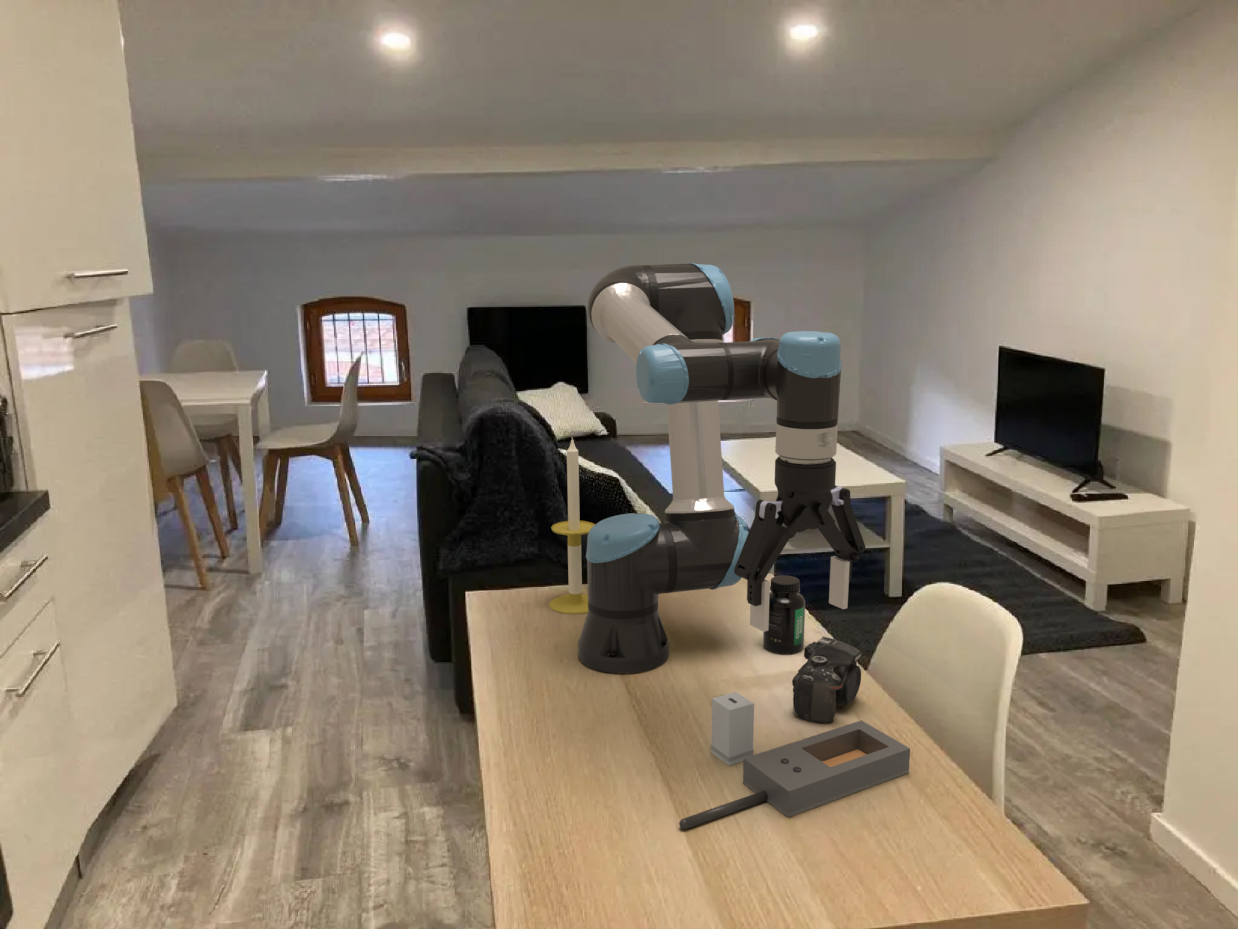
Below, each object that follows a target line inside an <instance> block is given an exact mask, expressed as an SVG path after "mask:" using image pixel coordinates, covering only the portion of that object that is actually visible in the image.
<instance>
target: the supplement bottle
mask: <svg viewBox="0 0 1238 929" xmlns="http://www.w3.org/2000/svg"><path fill="white" fill-rule="evenodd" d="M800 583H801V581H800V579H799V578H798V577H796V576H792V575H776V576H773V577H771V578H770V594H769V627H768V631H765V632H763V631H762V633H763V634H762V636H763V637H762V644H763V647H764V649H765V650H767V651H769V652H771V653H775V654H779V655H793V654H796V653H799V652H800V651H802V649H803V648H804V646H805V645H804V644H805V622H806V621H805V620H806V619H805V618H806V617H805V616H806V600H805V598H804V596H803V595H802V594H801V593H800V592H801V588H800V587H801V584H800Z"/></svg>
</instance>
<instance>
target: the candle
mask: <svg viewBox="0 0 1238 929" xmlns="http://www.w3.org/2000/svg"><path fill="white" fill-rule="evenodd" d="M579 460H580V459H579V449H577V447H576V445H575V440H574V438H573V437H571V440H570V443H569V447H568V449H567V450H566V472H567V473H566V479H567V520H565V521H560V522H557V523H554V524H552V526H551V527H550V528H551V531H552V532H553V533H555V534H557V535H561V536H562V535H563V536H567V564H568V565H567V566H568V567H567V568H568V569H567V572H568V574H567V575H568V594H564V595H559V596H557V597H555V598H553V599H551V600H550V602H549V608H550V609H551V610H552V611H554V612H556V613H560V614H563V615H564V614H565V615H582V614H588V593H587V594H585V593H583V576H582V575H583V574H582V573H583V571H582V536H584V535H588V533H589V531H590V529H591V528H592V527H593V526H594V525H595V524H596V523H593V522H590V521H586V520H580V518H581V517H580V513H581V512H580V477H579V476H580V473H579V472H580V469H579V468H580V466H579V463H580V462H579Z"/></svg>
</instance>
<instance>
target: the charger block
mask: <svg viewBox="0 0 1238 929" xmlns="http://www.w3.org/2000/svg"><path fill="white" fill-rule="evenodd" d="M754 719H755V702H754V701H751V700H750V699H748V698H746V697H745V696H744V695H743V694H740V693H739V692H737V691H734V692H730V693H727V694H723V695H720V696H716V697H713V698H711V732H710V734H711V739H710V740H711V742H710V743H711V744H710V752H711V754H712V755H713V756H715V757H716V758H718V759H719V760H720V761H722V762H723V763H724V764H726V766H728V767H729V766H732V765H736V764H739V763H741V762H744V758H747V757H750V756H753V755H755V754H754V753H755V752H754V731H755V730H754V729H755V728H754V723H755V721H754Z"/></svg>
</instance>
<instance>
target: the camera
mask: <svg viewBox="0 0 1238 929" xmlns="http://www.w3.org/2000/svg"><path fill="white" fill-rule="evenodd" d="M817 640H818V641H813V642H811V643H809V644H807V645H806V646H805V647H804V650H803V651H804V652H803V657H804V659H805V660H806V662H805V663H804V664H802V665H801V667H800V668H799V669H798V671H797V673H796V674H795V675H794V676H793V679H792V680H791V681H792V682H791V683H792V687H793V688H792V696H793V698H792V704H793V711H794V713H795V715H796V716H797V717H799V718H800V719H803V720H805V721H809V722H812V723H818V724H824V725H825V724H831V723H833V722H834V720H835V716H836V709H837V708H836V707H837V706H843V705H845V704H852V703H853V702H854V700H855V699H856V698H857V695H858V692H859V690H860V686H861V681H862V669H861V668H860V666H859V665H857V664H858V663H857V661H858V660H859V659H860V658H861V657H862V651H861V650H859V649H858V648H857V647H855V646H853V645H850V644H849V643H846V642H844V641H841V640H838V639H835V638H833V637H831V636H827V635H823V636H822V637H820V638H819V639H817Z"/></svg>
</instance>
